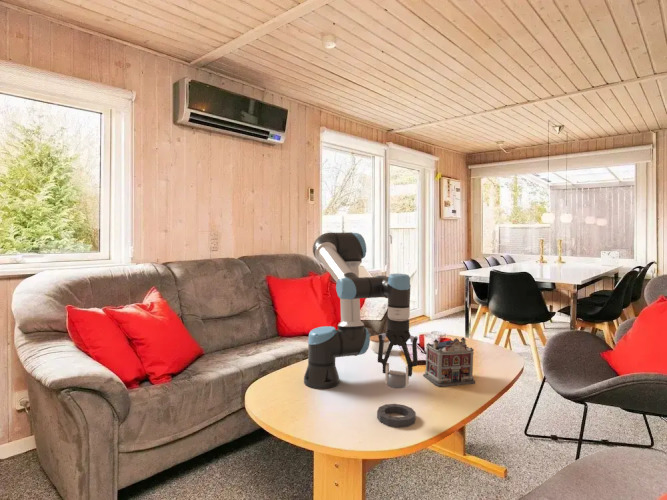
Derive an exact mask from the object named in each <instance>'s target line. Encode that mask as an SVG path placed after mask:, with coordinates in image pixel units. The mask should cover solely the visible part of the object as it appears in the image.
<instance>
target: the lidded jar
mask: <svg viewBox="0 0 667 500" xmlns="http://www.w3.org/2000/svg"><path fill="white" fill-rule="evenodd" d="M378 336H379V334H378V335H371V336H370V343H369V347H370V349H371V350H372V352H373V353H374V354H377V355H378V351H379V338H378ZM389 344H390V341H389V340H388V338H387V337H385V340H384V347H383V354H386V352H387V349H388V347H389Z"/></svg>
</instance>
